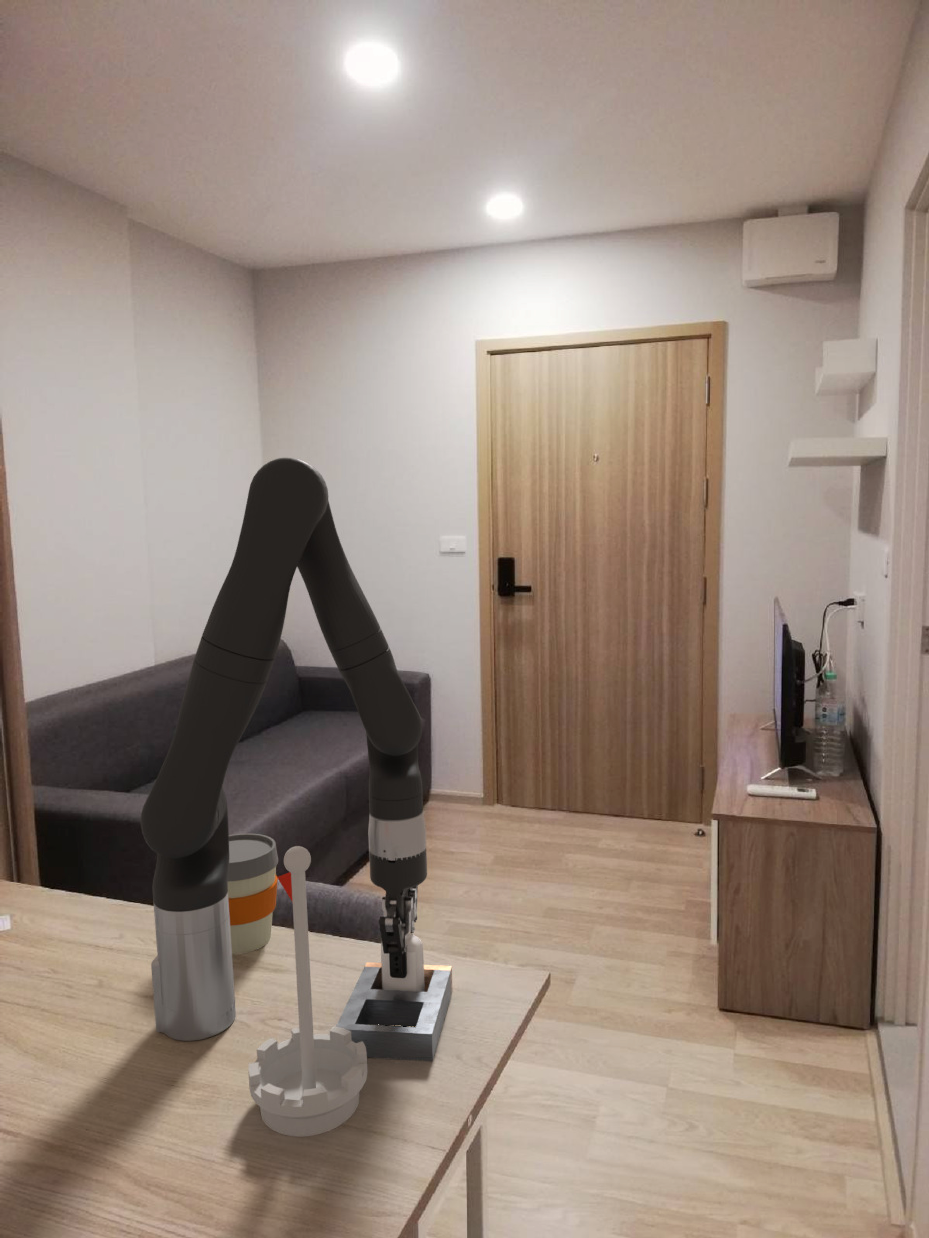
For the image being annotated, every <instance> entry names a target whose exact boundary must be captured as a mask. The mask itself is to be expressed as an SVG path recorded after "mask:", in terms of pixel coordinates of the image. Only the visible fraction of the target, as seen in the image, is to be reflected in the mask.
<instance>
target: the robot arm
mask: <svg viewBox="0 0 929 1238" xmlns="http://www.w3.org/2000/svg"><path fill="white" fill-rule="evenodd" d="M328 491H329V489H328V486H327V483H326V481H325V479H324V477H323V475H322V474H321V473H320V472H319V470H318V469H317V468H315V467H314V466H313V465H311V464H310V463H308V462H306V461H304V460H302V459H298V458H295V457H279V458H275V459H272V460H269V461H268V462H266V463H265V464H264V465H262V466H261V467H260V468H259V469H258V470H257V472H256V473H255V474H254V476H253V477H252V479H251V482H250V485H249V489H248V494H247V498H246V504H245V509H244V513H243V514H244V515H243V520H242V524H241V528H240V532H239V535H238V536H239V537H238V541H237V545H236V550H235V552H234V557H233V559H232V562H231V565H230V567H229V570H228V572H227V575H226V577H225V579H224V582H223V583H222V586H221V588H220V590H219V592H218V595H217V597H216V599H215V602H214V603H213V606H212V609H211V611H210V614H209V616H208V620H207V622H206V624H205V627H204V629H203V631H202V634H201V637H200V640H199V644H198V647H197V650H196V653H195V656H194V659H193V663H192V666H191V669H190V673H189V676H188V680H187V682H186V683H187V684H186V687H185V690H184V695H183V698H182V701H181V705H180V709H179V713H178V718H177V722H176V725H175V726H176V727H175V730H174V734H173V736H172V740H171V743H170V746H169V749H168V751H167V755H166V756H165V758H164V761H163V764H162V765H161V768H160V770H159V773H158V775H157V777H156V780H155V781H154V784H153V785H152V788H151V790H150V792H149V794H148V796H147V798H146V800H145V802H144V804H143V805H142V810H141V814H140V829H141V834H142V837H143V838H144V840H145V843H146V844H147V846H148V847H149V848H150V850H152V851H153V852H154V853H155V854H157V857H156V866H155V870H154V875H153V878H152V885H151V886H152V899H153V900H152V901H153V912H154V913H153V914H154V915H153V916H154V926H155V939H156V940H155V941H156V953H157V955H156V956H155V957H154V958H153V959H152V961H151V964H150V966H151V968H150V969H151V980H152V981H151V982H152V992H153V993H152V994H153V1006H154V1008H153V1009H154V1020H155V1021H154V1022H155V1031H156V1032H157V1033H163V1034H165V1035H166V1036H167V1037H169V1038H171V1039H173V1040H178V1041H187V1042H189V1041H198V1040H204V1039H208V1038H210V1037H213V1036H215V1035H218V1034H220V1033H222V1032H223V1031H225V1030H226V1029H227V1028H229V1027H230V1026H231V1025H232V1024H233V1022H234V1021H235V1019H236V1012H237V1011H236V996H235V981H234V979H235V978H234V966H233V954H232V947H231V932H230V916H229V902H228V869H229V835H230V833H229V830H230V829H229V813H228V812H229V811H228V802H227V797H226V793H225V790H224V788H223V784H224V780H225V777H226V773H227V770H228V768H229V767H228V766H229V765H230V761H231V758H232V756H233V755H234V752H235V749H236V747H237V746H238V744H239V742H240V740H241V738H242V736H243V734H244V733H245V731H246V729H247V727H248V725H249V723H250V721H251V719H252V717H253V715H254V713H255V711H256V708H257V706H258V705H259V702H260V700H261V697H262V695H263V692H264V690H265V688H266V685H267V684H268V683H267V682H268V679H269V677H270V674H271V671H272V668H273V665H274V663H275V659H276V657H277V656H276V655H277V654H278V649H279V646H280V642H281V640H282V639H281V638H282V634H283V629H284V625H285V619H286V614H287V607H288V601H289V595H290V590H291V585H292V582H293V578H294V576H295V573H296V570H297V569H298V571H299V573H300V575H301V578H302V580H303V582H304V585H305V588H306V591H307V593H308V597H309V599H310V601H311V604H312V605H311V606H312V608H313V611H314V614H315V618H316V620H317V623H318V626H319V628H320V631H321V634H322V635H323V638H324V641H325V643H326V645H327V648H328V649H329V652H330V653H331V656H332V658H333V661H334V663H335V665H336V666H337V669H338V671H339V673H340V675H341V677H342V679H343V680H344V682H345V684H346V685H347V687H348V689H349V691H350V693H351V696H352V700H353V702H354V705H355V707H356V709H357V712H358V715H359V718H360V721H361V723H362V725H363V728H364V730H365V733H366V735H365V736H366V746H367V747H366V748H367V755H368V756H367V757H368V766H369V776H368V777H369V778H368V805H369V808H368V809H369V818H368V819H369V820H368V830H367V831H368V833H367V835H368V855H369V856H368V858H369V878H370V881H371V882H372V884H373V885H375V886H376V887H379V888H381V889H382V890H384V891H385V896H384V895H383V896H382V898H381V910H382V911H383V916H380V917H379V919H378V925H379V931H380V938H381V942H382V944H383V951H384V954H388V953H389V963H390V976H391V977H392V978H405V977H406V975H407V934H408V933H409V931H410V930H411V933H412V934H414V932H415V930H416V927H415V923H417V920H418V915H417V913H418V891H419V890H418V888H419V887H418V886H419V885H421V884H422V883H424V882H425V880H426V879H427V877H428V860H427V859H428V857H427V856H428V855H427V853H428V852H427V829H426V821H425V814H424V798H423V796H424V795H423V790H424V789H423V780H422V774H421V771H420V767H419V749H418V748H419V747H418V746H419V742H420V739H421V737H422V734H423V720H422V717H421V715H420V713H419V710H418V709H417V705H415V703H414V700H413V699H412V697H411V695H410V693H409V690H408V689H407V687H406V685H405V683H404V681H403V679H402V678H401V676H400V673H399V671H398V669H397V666H396V662H395V659H394V656H393V653H392V650H391V648H390V646H389V643H388V641H387V639H386V636H385V635H384V633H383V630H382V628H381V626H380V623H379V622H378V620H377V617H376V614H375V613H374V611H373V609H372V607H371V605H370V603H369V601H368V599H367V597H366V595H365V593H364V591H363V590H362V588H361V586H360V584H359V582H358V579H357V578H356V575H355V574H354V571H353V570H352V567H351V565H350V563H349V560H348V557H347V556H346V555H347V554H345V551H344V548H343V545H342V543H341V541H340V540H341V539H340V537H339V534H338V532H337V527H336V524H335V521H334V516H333V513H332V510H331V505H330V501H329V492H328ZM401 924H405V926H401Z"/></svg>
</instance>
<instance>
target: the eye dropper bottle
mask: <svg viewBox="0 0 929 1238" xmlns="http://www.w3.org/2000/svg"><path fill="white" fill-rule="evenodd" d="M401 926H405V924H401ZM424 957H425V956H424V944H423V942H422V940H421V939H420V937H418V936H416V935H415V934H414V933H411V930H410V931H409V933H408V934H407V975H406V977H405V978H392V977H391V976H390V963H389V953H388V954H384V951H383V944H382V941H381V942H380V958H381V962H380V963H381V964H382V990H398V991H419V992H424V991H425V984H424V965H425V961H424Z"/></svg>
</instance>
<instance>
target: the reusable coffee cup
mask: <svg viewBox="0 0 929 1238" xmlns="http://www.w3.org/2000/svg"><path fill="white" fill-rule="evenodd" d="M278 863H279V856H278V851H277V843H276V841H275V840H274V838H272V837H270V836H268V835H264V834H261V833H236V834H234V833H233V834H229V869H228V902H229V916H230V932H231V947H232V955H240V954H247V953H251V952H254V951H256V950H259V949H261V948H263V947H264V946H266V945H267V944H268V943H269V942H270V940H271V938H272V928H273V927H272V926H273V925H272V924H273V912H274V911H275V909H276V907H277V906H276V905H277V894H278V881H279V880H278V878H277V877H278V876H277V873H276V872H277V869H276V868H277V865H278Z"/></svg>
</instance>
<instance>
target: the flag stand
mask: <svg viewBox="0 0 929 1238" xmlns="http://www.w3.org/2000/svg"><path fill="white" fill-rule="evenodd" d="M311 863H312V857H311V854H310V851H309V850H308V849H307V848H305V847H303V846H301V845H295V846H292V847H290V848H289V849H287V851H286V852H285V854H284V857H283V865H284V867H285V869H286V870H287V871H288V872H286V873H284V874H282V875H278V876H277V878H278V881H279V883H280V885H281V886H282V888H283V889H284V891H285V892H286V894H287V896H288V897H289V899H290V900H291V902H292V914H293V915H292V916H293V932H294V934H293V935H294V936H293V937H294V953H295V954H294V955H295V956H294V957H295V970H296V971H295V973H296V974H295V975H296V993H297V1009H298V1025H299V1026H298V1027H294V1028H291V1029H290V1033H291V1034H290V1035H291V1038H288V1039H286V1040H284V1041H283V1040H282V1041H280V1042H279V1043H278V1040H276V1039H275V1038H273V1037H270V1038H269V1039H267V1040H266V1041H264V1042H262V1044H260V1046H258V1048H256V1060H255V1061H254V1062H249V1063H248V1069H247V1070H248V1073H247V1074H248V1087H249V1093H250V1097H251V1099H252V1100H253V1101H254V1103H255V1104H256V1105H257V1106H258V1107H260V1116H261V1119H262V1121H263V1123H264V1124H265V1125H266V1126H267V1127H268V1128H270V1130H272V1131H274V1132H276V1133H278V1134H281V1135H284V1136H290V1137H309V1136H311V1137H312V1136H317V1135H319V1134H324V1133H327V1132H329V1131H332V1130H334V1129H336V1128H338V1127H339V1126H341V1125H343V1124H344V1123H345V1122H346V1121H347V1120H349V1119H350V1118H351V1117H352V1116H353V1114H354V1113H355V1112H356V1110H357V1108H358V1106H359V1102H360V1091H361V1090H362V1089H363V1087H364V1086H365V1084H366V1081H367V1078H368V1077H367V1076H368V1057H367V1053H366V1047H365V1045H364V1043H363V1041H362V1042H359V1043H354V1042H353V1041H352V1040H351V1031H349V1030H346V1029H344V1028H340V1027H336V1025H333V1026H332V1028H330V1030H329V1034H328V1033H314V1021H313V1020H314V1018H313V1016H314V1015H313V1000H312V979H311V963H310V960H311V959H310V944H309V943H310V940H309V923H308V921H309V920H308V907H307V906H308V905H307V903H308V902H307V886H306V885H307V884H306V871H307V870H308V869H309V867H310V866H311Z"/></svg>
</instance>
